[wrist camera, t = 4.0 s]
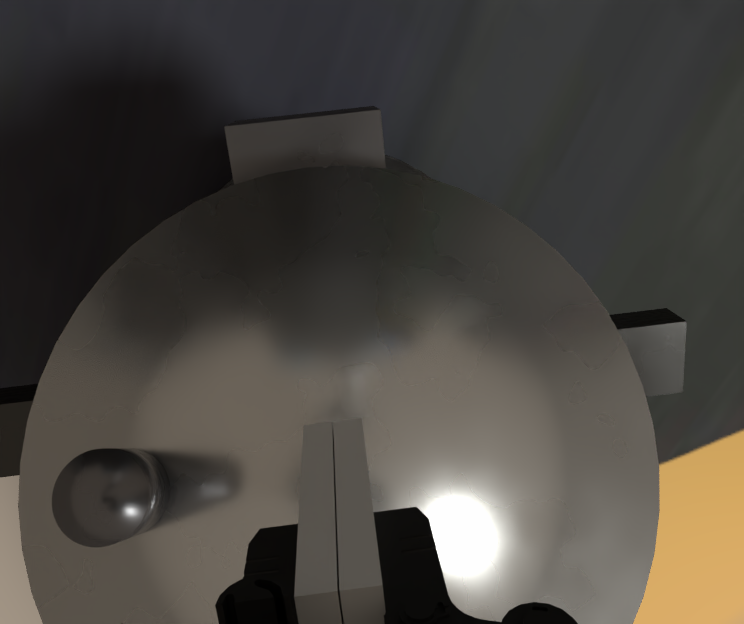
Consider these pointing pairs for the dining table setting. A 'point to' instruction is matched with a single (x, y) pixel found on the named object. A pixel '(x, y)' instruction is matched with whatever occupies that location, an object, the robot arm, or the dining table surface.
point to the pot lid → (338, 403)
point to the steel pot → (366, 149)
